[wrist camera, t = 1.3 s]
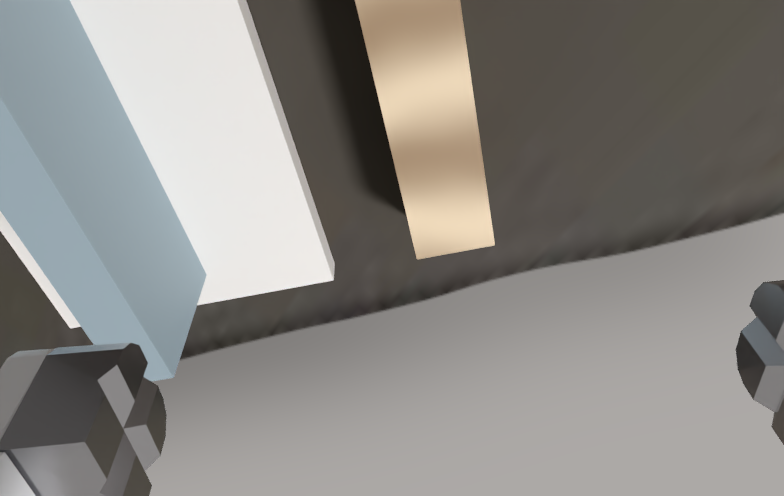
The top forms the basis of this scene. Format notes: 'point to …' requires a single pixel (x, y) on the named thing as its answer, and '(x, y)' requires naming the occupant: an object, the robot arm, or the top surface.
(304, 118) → the top surface
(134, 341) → the ridge stand
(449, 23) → the maple bar
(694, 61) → the top surface
